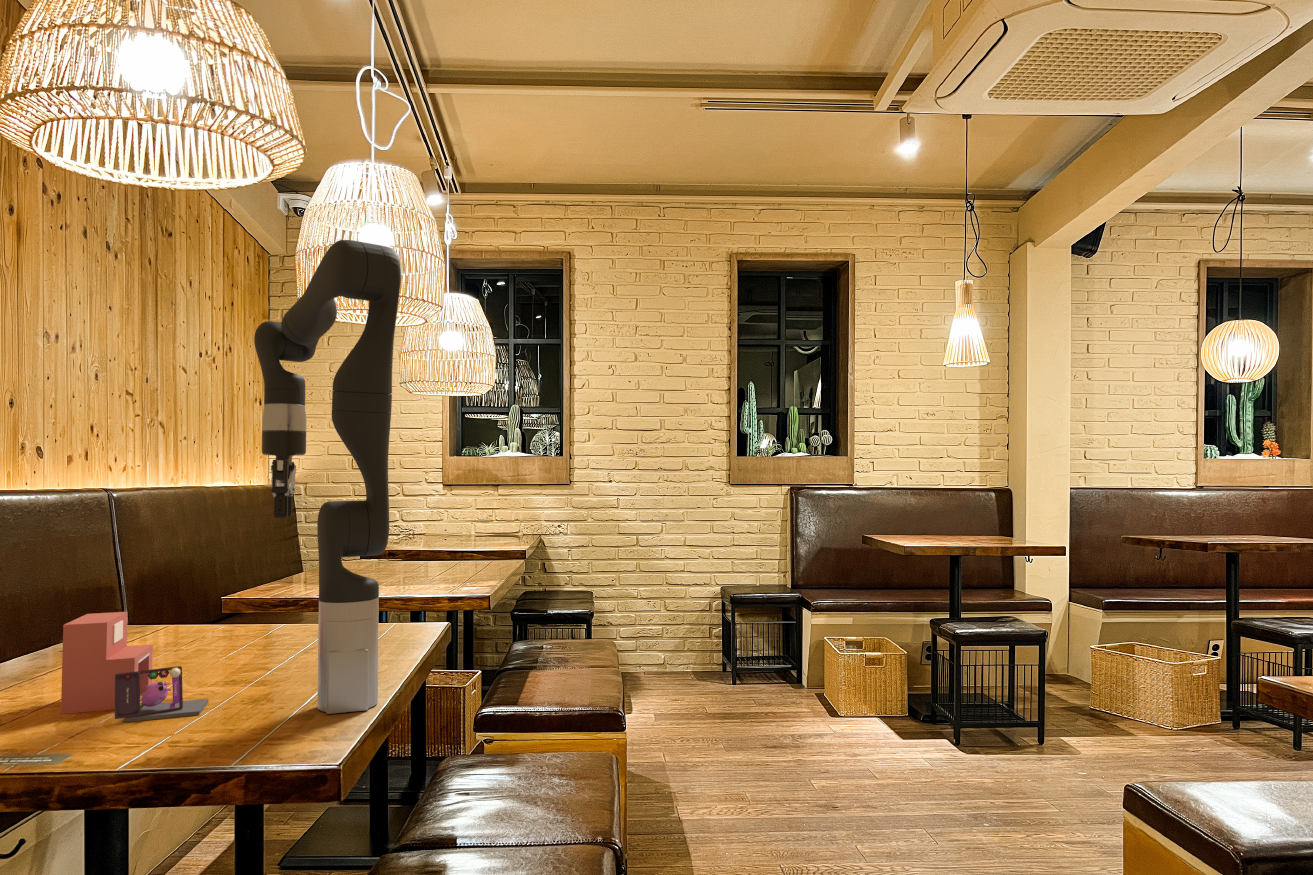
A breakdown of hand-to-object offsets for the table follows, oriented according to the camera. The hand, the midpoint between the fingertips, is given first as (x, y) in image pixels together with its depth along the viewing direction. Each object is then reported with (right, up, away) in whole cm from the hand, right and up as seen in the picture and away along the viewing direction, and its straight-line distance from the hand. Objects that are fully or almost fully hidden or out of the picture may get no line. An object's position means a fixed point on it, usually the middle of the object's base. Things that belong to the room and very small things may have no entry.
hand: (283, 516), depth 151 cm
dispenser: (-23, -30, -14) cm, 40 cm away
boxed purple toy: (-11, -29, -23) cm, 38 cm away
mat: (-9, -29, -21) cm, 37 cm away
